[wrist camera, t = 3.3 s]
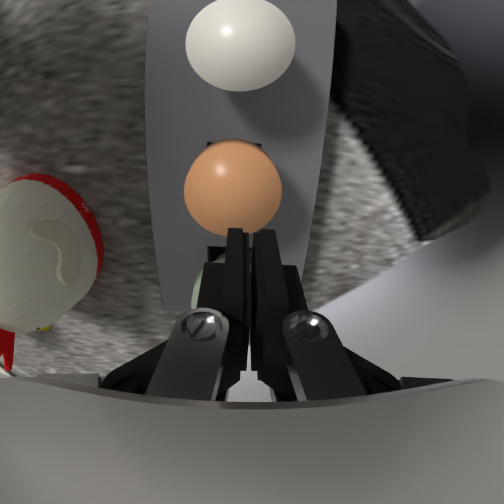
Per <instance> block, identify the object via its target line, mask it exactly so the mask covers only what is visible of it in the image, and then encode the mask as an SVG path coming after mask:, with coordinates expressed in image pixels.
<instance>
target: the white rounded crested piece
mask: <svg viewBox="0 0 504 504" xmlns="http://www.w3.org/2000/svg"><path fill="white" fill-rule="evenodd" d="M103 253H104V250H103V243H102V237H101V232H100V230H99V227H98V225H97V222H96V220H95V218H94V215H93V213H92V212H91V210H90V209H89V208H88V206H87V205H86V203H85V202H84V201H83V199H82V198H81V196H79V195H78V194H77V193H76V192H75V191H74V190H73V189H72V188H70V187H69V186H68V185H67V184H66V183H64V182H62V181H60V180H58V179H56V178H54V177H52V176H50V175H45V174H37V173H32V174H28V175H24V176H20V177H18V178H17V179H15V180H14V181H12V182H11V183H10V184H8V185H7V186H6V187H5V188H4V189H2V190H1V191H0V356H1V354H3V357H4V366H5V371H10V370H11V369H12V364H13V354H14V338H15V334H24V333H28V332H32V331H36V330H49V329H50V325H51V324H52V323H54V322H55V321H57V320H58V319H59V318H60V317H61V316H63V315H64V314H65V313H66V312H67V311H69V310H70V309H71V308H72V307H73V306H74V305H76V304H77V303H78V302H79V301H80V300H81V299H82V298H83V297H84V296H85V295H86V294H87V293H88V291H89V290H90V288H91V287H92V285H93V283H94V281H95V279H96V277H97V275H98V273H99V271H100V269H101V268H102V261H103Z"/></svg>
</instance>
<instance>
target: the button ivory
mask: <svg viewBox="0 0 504 504" xmlns="http://www.w3.org/2000/svg"><path fill="white" fill-rule="evenodd" d="M294 52H295V34H294V31H293V28H292V25H291V23H290V21H289V20H288V18H287V17H286V16H285V15H284V13H283V12H282V11H281V10H279V9H278V8H277V7H276V6H274V5H273V4H271V3H269V2H267V1H265V0H217V1H215V2H213V3H211V4H209V5H208V6H206V7H205V8H203V9H202V10H201V11H200V12H199V13H198V14H197V15H196V17H195V18H194V19H193V21H192V22H191V24H190V26H189V29H188V32H187V35H186V53H187V57H188V60H189V62H190V64H191V66H192V68H193V69H194V70H195V72H196V73H197V74H198V75H199V76H200V77H201V78H202V79H204V80H205V81H206V82H208V83H209V84H211V85H213V86H215V87H218V88H221V89H224V90H229V91H237V92H238V91H251V90H255V89H259V88H262V87H264V86H266V85H268V84H270V83H272V82H273V81H275V80H276V79H278V78H279V77H280V76H281V75H282V74H283V73H284V72H285V71H286V69H287V68H288V66H289V65H290V63H291V61H292V59H293V55H294Z"/></svg>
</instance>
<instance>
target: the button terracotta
mask: <svg viewBox="0 0 504 504" xmlns="http://www.w3.org/2000/svg"><path fill="white" fill-rule="evenodd" d="M281 196H282V186H281V181H280V177H279V175H278V172H277V170H276V168H275V166H274V163H273V161H272V160H271V158H270V157H269V155H268V154H267V153H266V152H265V151H264V150H263V149H262V148H260V147H259V146H258V145H256V144H254V143H252V142H249V141H247V140H242V139H225V140H220V141H217V142H215V143H213V144H211V145H209V146H208V147H206V148H205V149H204V150H202V151H201V152H200V154H199V155H198V156H197V157H196V159H195V160H194V162H193V164H192V166H191V168H190V170H189V172H188V175H187V177H186V180H185V185H184V198H185V203H186V206H187V208H188V210H189V212H190V214H191V216H192V217H193V218H194V220H195V221H196V222H197V223H198V224H200V225H201V226H202V227H203V228H205V229H207V230H208V231H210V232H213V233H215V234H218V235H223V236H227V232H228V228H243V232H249V234H250V233H253V232H255V231H257V230H259V229H261V228H262V227H263V226H265V225H266V224H267V223H268V222H269V221H270V220H271V219H272V218H273V216H274V215H275V213H276V212H277V210H278V208H279V205H280V202H281Z"/></svg>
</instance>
